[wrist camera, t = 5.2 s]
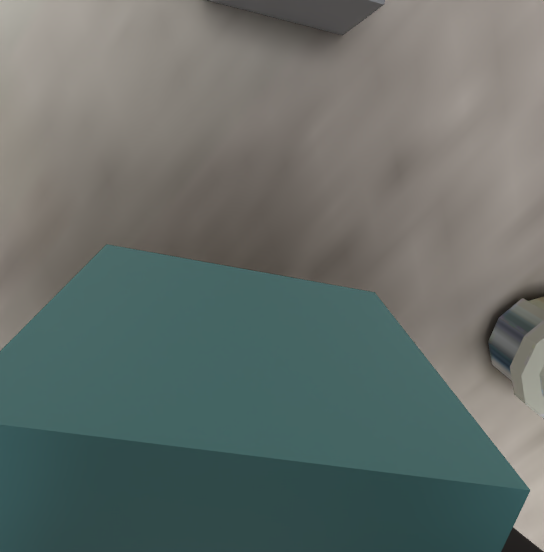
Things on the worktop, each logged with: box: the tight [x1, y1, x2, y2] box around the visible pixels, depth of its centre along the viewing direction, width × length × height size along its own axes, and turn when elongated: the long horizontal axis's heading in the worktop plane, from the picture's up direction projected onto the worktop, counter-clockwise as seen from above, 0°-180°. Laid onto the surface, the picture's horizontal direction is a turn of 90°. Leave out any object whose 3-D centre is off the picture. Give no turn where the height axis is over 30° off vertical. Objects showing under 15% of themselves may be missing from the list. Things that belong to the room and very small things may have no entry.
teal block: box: [0, 244, 530, 552], centre depth 7 cm, size 5×5×5 cm
